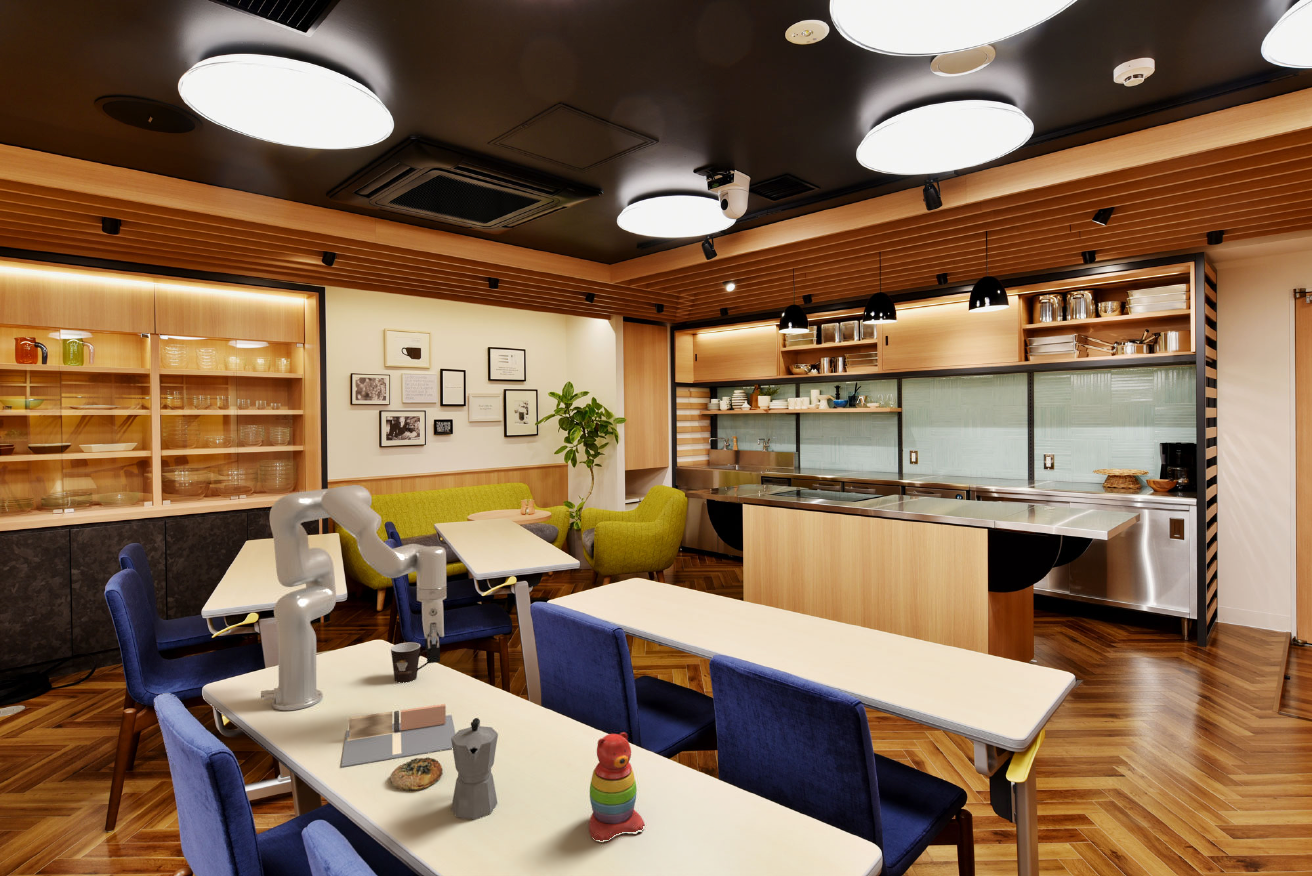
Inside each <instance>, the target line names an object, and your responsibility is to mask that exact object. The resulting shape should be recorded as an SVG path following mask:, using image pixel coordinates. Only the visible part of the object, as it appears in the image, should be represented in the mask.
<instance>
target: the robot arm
mask: <svg viewBox="0 0 1312 876" xmlns="http://www.w3.org/2000/svg"><path fill="white" fill-rule="evenodd" d="M372 499H373V498H372V495H371V493H370V491H369V490H368V489H367V488H365V487H364V486H362V485H358V484H351V485H344V486H337V487H332V488H322V489H315V490H305V491H298V492H293V493H290V494H286V495H284V496H282V497H280V498H279V499H278V500H276V501H275V502H274V503H273V505H272V507H271V509H270V510H269V511H270V512H269V525H270V529H271V533H272V538H273V544H274V545H273V546H274V547H273V548H274V555H275V556H274V557H275V559H274V560H275V568H276V576H277V580H278V582H279V584H280V585H281V586H282V587H286V588H295V587H297V586H299V587H300V586H302V585H305V587H303V588H300V589H297V590H294V591H291V592H289V593H286V594H284V595H283V596H281V597H280V598H279V599H278V600H277V601H276V603H275V605H274V608H273V615H274V620H275V624H276V631H277V647H278V649H277V651H278V654H277V655H278V657H277V658H278V686H277V687H275V688H273V689H271V690H269V689H267V690H261V691H260V698H261V699H263V700H264V701H267V700H272V699H273V700H272V702H271V703H272V705H271V706H272V708H274V709H276V710H278V711H295V710H301V709H305V708H309V707H312V706H313V705H316V704H317V703H319V702H321V700H322V699H323V697H324V695H323V692H322V691H321V690H319V689H317V635H316V632H315V630H314V628H313V626H312V624H311V621H313V620H315V619H318V618H321V617H323V616H325V615H327V614H329V613H331V611H333V610H334V607H335V606H336V602H337V592H336V591H337V590H336V580H335V570H334V569H335V568H334V567H335V566H334V562H333V560H332V557H331V554H330V553H329V552H328V551H327V550H325V549H323V548H321V547H310V546H309V537H308V533H307V531H306V530H305V528H304V527H303V525H302V523H304V522H310V521H315V520H322V519H326V518H331V519H332V520H333V521H335V523H337V524H338V525H339V526H340V527H342V528H343V529H344V530H345V531H346V532H348V533H349V534H350V536H352V537H354V538H355V540H356V545H357V548H358V550H359V553H360V555H361V557H362V559H363V560H364V561H365V562H366V563H367V564H368V565H369V566H370V567H371V568H372V569H374V570H375V571H376V572H377V573H378V574H380V575H381V576H384V577H385V578H389V579H396V578H399V577H402V576H404V575H405V576H406V575H408V574H410V573H414V572H416V601H417V602H420V603H421V617H422V618H421V621H422V628H423V629H422V630H423V634H424V639H425V640H424V648H425V649H424V651H426V652H427V653H426V652H425V653H426V663H428V664H433V663H436V664H437V663H440V662H441V646H440V639H439V637H441V638H444V637H445V630H444V629H445V628H444V627H445V626H444V602H443V601H444V600H445V599H447V552H446V549H445V548H444V547H443V546H437V545H435V546H434V545H433V546H432V545H431V546H427V545H422V544H418V543H408V544H405V545H401V546H399V547H398V546H397V547H395V548H394V547H393V548H391V547H390V546H389V545H388V544H387V543H385V542H384V541H383V539H381V538H380V537H379V535H378V534H377V532H378V530H379V529H380V528H381V525H382V517H381V515H380V514H378V513H377V512H376V511H375V510H374V509H372V508H371V506H372V503H373V502H372V501H373V500H372Z"/></svg>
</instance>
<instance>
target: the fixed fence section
mask: <svg viewBox="0 0 1312 876" xmlns="http://www.w3.org/2000/svg"><path fill="white" fill-rule="evenodd" d="M348 721H349V725H348V726H349V728H348V729H349V740H350V739H357V738H363V737H370V736H376V735H383V734H389V733H392V724H394V732H399V723H400V711H399V710H395V711H394V712H393V711H387V712H385V711H384V712H379V713H378V712H377V713H372V714H365V715H359V716H351V717H349V720H348Z"/></svg>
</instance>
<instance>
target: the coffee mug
mask: <svg viewBox="0 0 1312 876" xmlns="http://www.w3.org/2000/svg"><path fill="white" fill-rule="evenodd" d="M390 652H391V654H390V655H391V663H392V670H393V676H394V682H395V681H397V682H396V683H398V682H400V683H399V684H405V683H406V682H407V683H411V682H414V681H415V680H416V679H417V678H418V677H417V676H418V671H420V670H421V669H422V668H424V667H425V666H427V665H428V664H429V663H427V662H425V663H424V664H422V665H420V666H419V662H420V661H419V660H420V657H421V656H422V655H423V654H424V653H426V654H427V652H426V651H425V650H422V651H421V644H420V643H418V642H403V643H402V642H401V643H398V644H394V645H393V646H391V647H390ZM413 680H414V681H413ZM410 681H411V682H410ZM403 682H404V683H403ZM407 683H406V684H407Z"/></svg>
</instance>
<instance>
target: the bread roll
mask: <svg viewBox="0 0 1312 876" xmlns="http://www.w3.org/2000/svg"><path fill="white" fill-rule="evenodd" d="M442 776H443V767H442V765H441V763H440V762H439V761H438V760H437V759H435V758H432V757H429V756H426V757H418V758H417V757H415V758H412V759H410V760H409V761H407V762H405V763H404V762H403V763H402V764H400V765H399V766H397V767H396V768H394V770H393V771H392V772H391V773H390V780H391V781H390V784H391V785H392V786H394V787H395V788H396V789H398V790H400V791H401V790H403V791H410V790H413V791H421V790H425V789H427V788H429V786H430V787H431V786H433V785H435V784H436V783H437V782H438V781H440V779H441V777H442Z"/></svg>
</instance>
